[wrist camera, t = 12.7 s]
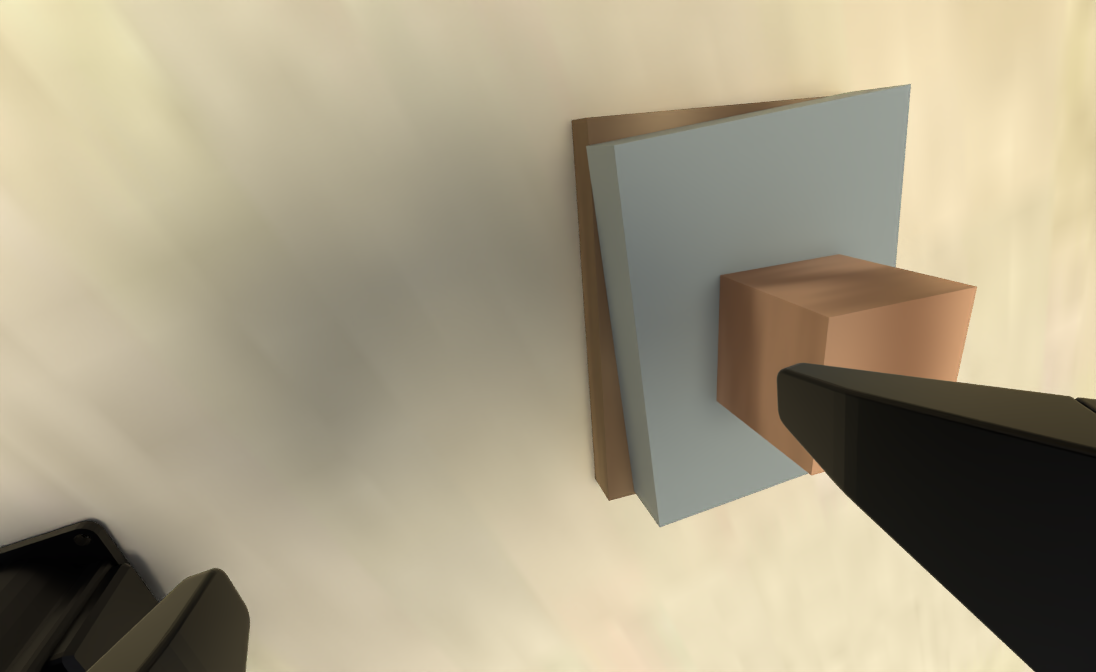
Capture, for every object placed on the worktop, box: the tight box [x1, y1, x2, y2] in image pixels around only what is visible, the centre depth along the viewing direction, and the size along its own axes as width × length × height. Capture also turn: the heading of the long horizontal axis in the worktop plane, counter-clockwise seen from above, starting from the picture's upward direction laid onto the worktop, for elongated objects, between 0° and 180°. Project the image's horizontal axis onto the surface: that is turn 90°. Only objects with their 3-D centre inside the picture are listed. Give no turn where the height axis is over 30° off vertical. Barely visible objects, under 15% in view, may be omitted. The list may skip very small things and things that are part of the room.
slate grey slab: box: [586, 84, 911, 527], centre depth 21 cm, size 11×15×2 cm
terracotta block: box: [717, 254, 977, 475], centre depth 17 cm, size 5×5×5 cm
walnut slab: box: [572, 96, 829, 501], centre depth 23 cm, size 12×16×2 cm
